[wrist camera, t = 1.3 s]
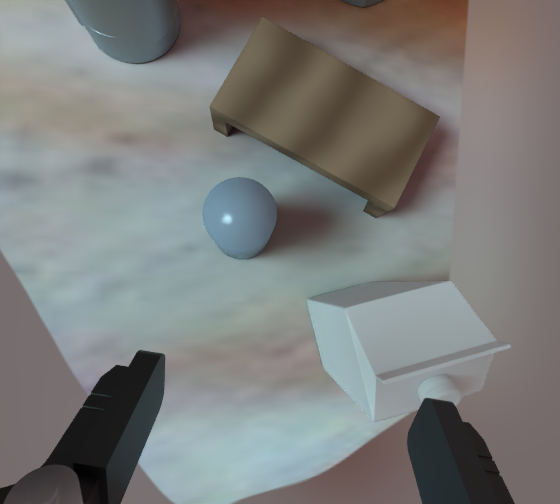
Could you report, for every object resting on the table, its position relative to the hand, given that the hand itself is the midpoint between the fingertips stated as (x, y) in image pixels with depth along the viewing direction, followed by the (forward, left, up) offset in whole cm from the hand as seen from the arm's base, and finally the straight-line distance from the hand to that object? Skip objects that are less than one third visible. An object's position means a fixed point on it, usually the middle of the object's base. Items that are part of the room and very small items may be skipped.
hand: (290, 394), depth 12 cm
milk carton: (+8, +4, -26) cm, 27 cm away
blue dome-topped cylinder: (-6, +7, -26) cm, 27 cm away
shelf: (-4, +20, -26) cm, 33 cm away
